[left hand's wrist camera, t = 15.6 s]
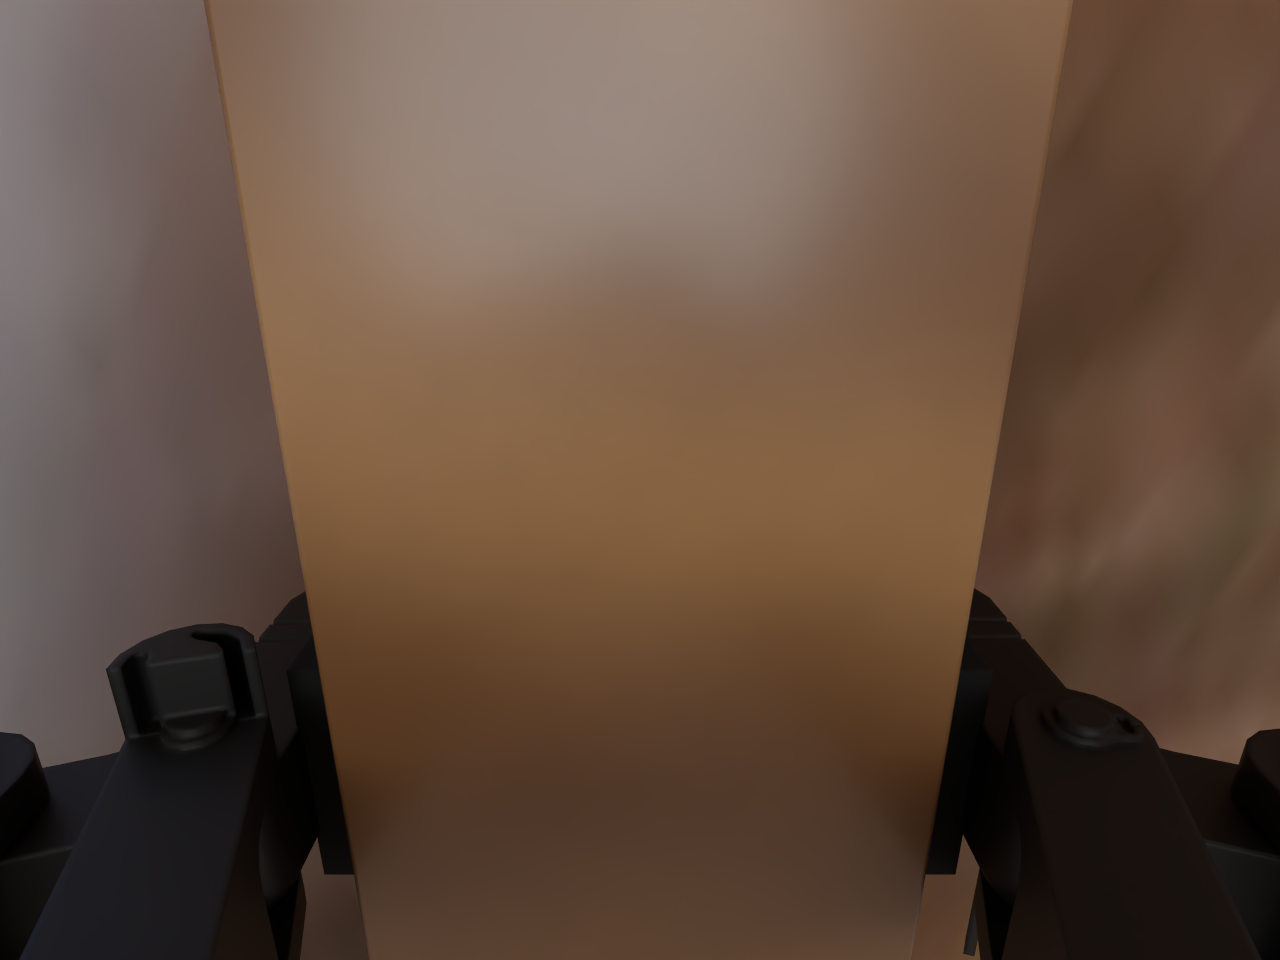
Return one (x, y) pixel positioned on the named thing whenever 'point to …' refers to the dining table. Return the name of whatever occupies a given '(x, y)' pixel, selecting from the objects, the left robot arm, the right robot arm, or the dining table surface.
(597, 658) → the beam
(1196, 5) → the dining table surface
